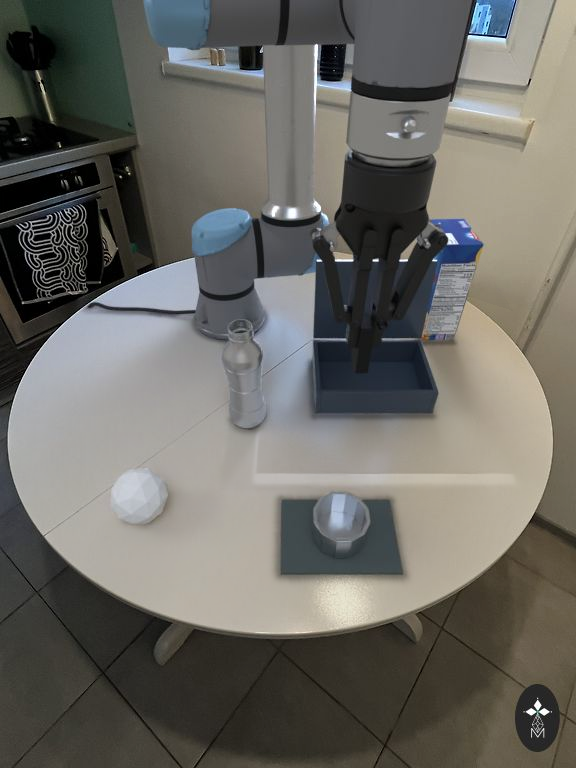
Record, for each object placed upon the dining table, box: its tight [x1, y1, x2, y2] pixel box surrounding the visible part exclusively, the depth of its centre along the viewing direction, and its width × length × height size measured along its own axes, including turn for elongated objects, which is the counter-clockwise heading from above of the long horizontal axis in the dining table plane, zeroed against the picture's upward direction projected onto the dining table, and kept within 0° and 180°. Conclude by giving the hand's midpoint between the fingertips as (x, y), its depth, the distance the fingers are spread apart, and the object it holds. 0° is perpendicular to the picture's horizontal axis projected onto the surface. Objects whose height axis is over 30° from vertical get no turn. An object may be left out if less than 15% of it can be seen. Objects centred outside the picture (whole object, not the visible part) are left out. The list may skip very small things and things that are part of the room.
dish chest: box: [311, 339, 440, 414], centre depth 83 cm, size 15×21×6 cm
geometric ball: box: [109, 467, 169, 525], centre depth 64 cm, size 8×8×8 cm
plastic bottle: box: [221, 319, 268, 429], centre depth 72 cm, size 6×7×20 cm
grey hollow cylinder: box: [312, 490, 370, 558], centre depth 61 cm, size 7×7×5 cm
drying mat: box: [280, 499, 404, 575], centre depth 63 cm, size 16×11×1 cm
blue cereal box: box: [420, 218, 485, 342], centre depth 91 cm, size 7×11×22 cm, turn 2°
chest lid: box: [312, 259, 438, 339], centre depth 81 cm, size 15×21×1 cm
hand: (359, 365), depth 54 cm, fingers closed
